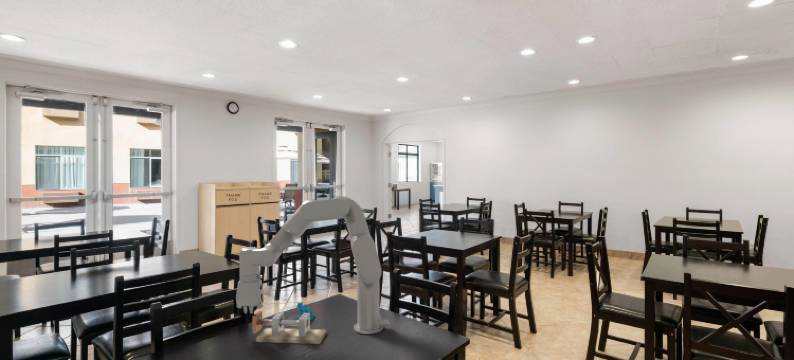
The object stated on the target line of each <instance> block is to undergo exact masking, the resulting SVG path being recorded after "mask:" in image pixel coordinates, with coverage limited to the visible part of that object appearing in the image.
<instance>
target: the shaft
mask: <svg viewBox="0 0 794 360" xmlns="http://www.w3.org/2000/svg"><path fill="white" fill-rule="evenodd" d="M263 326H272V318H271V319H267V318H266V319H264V318H263V310H258V311H257V312H256V313H254V315H253V316H252V334H258V333H259V331H260V330H261V329H263ZM280 326H284V327H288V326H289V327H299V320H298V319H284V320H280Z"/></svg>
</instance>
